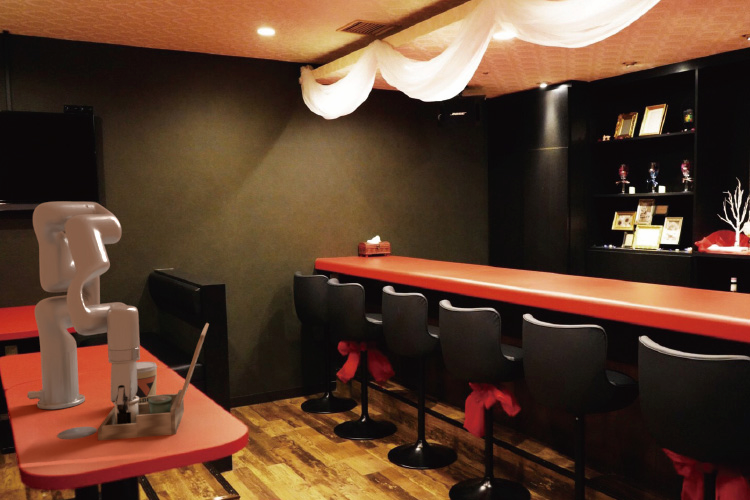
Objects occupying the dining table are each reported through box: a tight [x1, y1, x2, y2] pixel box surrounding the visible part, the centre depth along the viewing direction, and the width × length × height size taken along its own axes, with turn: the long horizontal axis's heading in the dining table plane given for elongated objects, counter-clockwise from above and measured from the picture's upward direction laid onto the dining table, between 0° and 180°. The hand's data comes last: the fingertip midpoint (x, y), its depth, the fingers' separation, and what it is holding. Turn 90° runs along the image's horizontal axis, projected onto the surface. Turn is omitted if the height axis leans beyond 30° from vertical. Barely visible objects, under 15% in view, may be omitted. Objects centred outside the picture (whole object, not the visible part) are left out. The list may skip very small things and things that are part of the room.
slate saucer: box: [56, 426, 98, 440], centre depth 158 cm, size 9×9×1 cm
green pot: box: [148, 396, 172, 414], centre depth 164 cm, size 6×6×6 cm
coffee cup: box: [135, 361, 158, 403], centre depth 181 cm, size 9×9×12 cm
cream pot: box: [112, 396, 139, 425], centre depth 161 cm, size 6×6×7 cm
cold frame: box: [97, 389, 185, 441], centre depth 162 cm, size 18×18×7 cm
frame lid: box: [176, 322, 210, 409], centre depth 164 cm, size 19×18×1 cm
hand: (127, 423), depth 162 cm, fingers open, 6 cm apart
